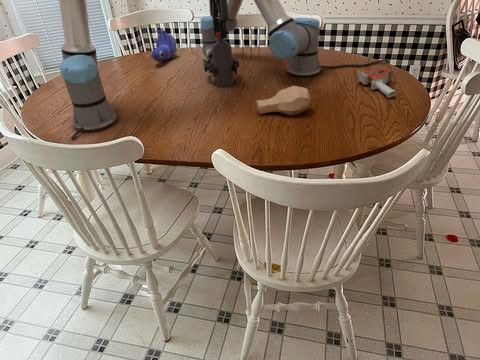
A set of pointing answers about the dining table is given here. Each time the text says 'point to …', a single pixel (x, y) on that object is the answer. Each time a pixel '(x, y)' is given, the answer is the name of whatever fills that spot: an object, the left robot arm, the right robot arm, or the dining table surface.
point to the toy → (164, 47)
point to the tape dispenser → (377, 80)
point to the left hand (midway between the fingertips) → (220, 36)
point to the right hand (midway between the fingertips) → (225, 71)
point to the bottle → (223, 63)
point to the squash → (286, 101)
